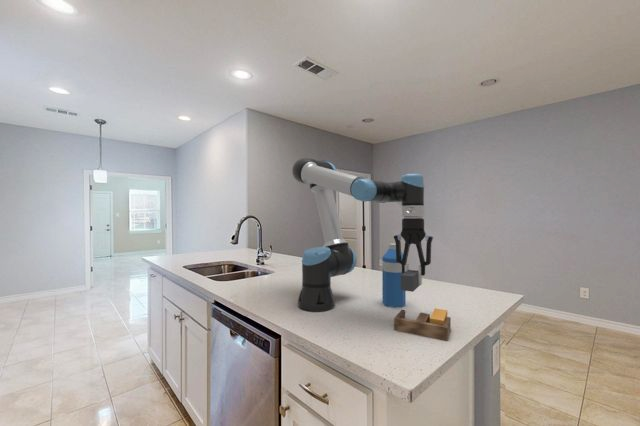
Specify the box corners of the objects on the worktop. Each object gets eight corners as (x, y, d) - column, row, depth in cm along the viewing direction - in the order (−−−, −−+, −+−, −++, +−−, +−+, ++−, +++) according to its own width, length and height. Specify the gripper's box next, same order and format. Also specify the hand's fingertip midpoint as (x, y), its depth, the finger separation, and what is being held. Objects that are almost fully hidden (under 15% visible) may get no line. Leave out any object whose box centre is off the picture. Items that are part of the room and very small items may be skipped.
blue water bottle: (406, 308, 114) (406, 245, 114) (382, 306, 116) (382, 245, 116) (404, 301, 123) (404, 243, 123) (382, 299, 125) (382, 242, 125)
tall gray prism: (400, 290, 94) (400, 275, 95) (408, 283, 104) (408, 269, 104) (413, 291, 92) (412, 276, 92) (420, 284, 102) (420, 270, 102)
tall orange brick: (429, 334, 90) (429, 318, 90) (434, 322, 100) (434, 308, 100) (443, 336, 88) (443, 320, 88) (447, 324, 98) (447, 310, 98)
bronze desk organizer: (394, 330, 93) (394, 318, 93) (401, 320, 101) (401, 309, 101) (447, 340, 85) (447, 328, 85) (450, 329, 94) (450, 317, 94)
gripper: (386, 218, 103) (386, 283, 103) (437, 217, 94) (437, 289, 94) (392, 217, 109) (392, 279, 109) (440, 217, 101) (440, 284, 101)
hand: (413, 283), depth 102 cm, fingers closed on tall gray prism, 4 cm apart
